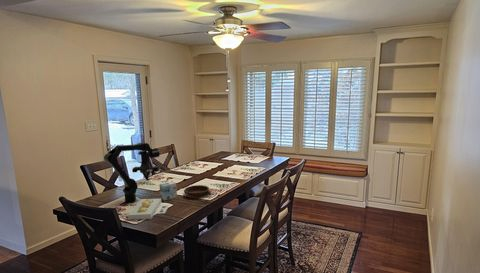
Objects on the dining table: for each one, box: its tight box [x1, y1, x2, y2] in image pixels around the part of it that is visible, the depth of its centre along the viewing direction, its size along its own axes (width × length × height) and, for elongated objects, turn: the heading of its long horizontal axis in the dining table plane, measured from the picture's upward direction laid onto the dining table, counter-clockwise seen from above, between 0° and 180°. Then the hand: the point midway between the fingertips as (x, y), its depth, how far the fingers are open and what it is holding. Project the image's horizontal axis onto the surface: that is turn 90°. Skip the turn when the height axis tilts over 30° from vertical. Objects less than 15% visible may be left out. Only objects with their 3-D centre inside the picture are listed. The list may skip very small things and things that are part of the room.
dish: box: [183, 184, 212, 199], centre depth 217 cm, size 18×22×5 cm
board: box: [127, 198, 162, 221], centre depth 191 cm, size 14×26×3 cm, turn 1°
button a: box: [139, 207, 146, 212], centre depth 184 cm, size 4×4×4 cm
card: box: [156, 205, 169, 215], centre depth 191 cm, size 5×12×1 cm, turn 1°
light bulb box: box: [159, 180, 178, 201], centre depth 213 cm, size 11×7×11 cm, turn 126°
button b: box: [142, 201, 149, 208], centre depth 191 cm, size 4×4×4 cm
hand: (147, 180), depth 217 cm, fingers closed
